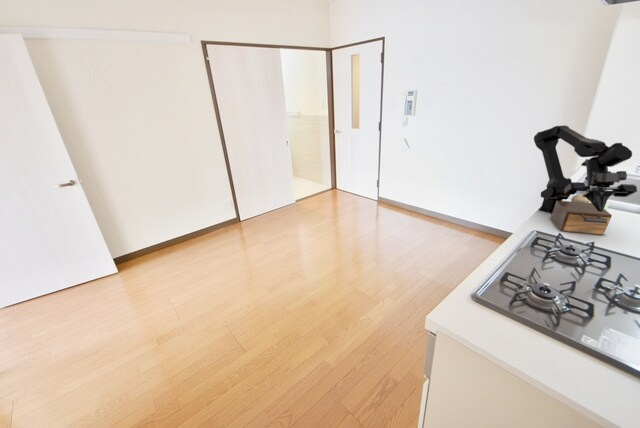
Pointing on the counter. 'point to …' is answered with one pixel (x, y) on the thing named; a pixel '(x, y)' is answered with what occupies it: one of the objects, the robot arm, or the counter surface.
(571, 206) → the cabinet
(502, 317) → the counter surface
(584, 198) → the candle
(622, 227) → the counter surface
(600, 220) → the drawer
